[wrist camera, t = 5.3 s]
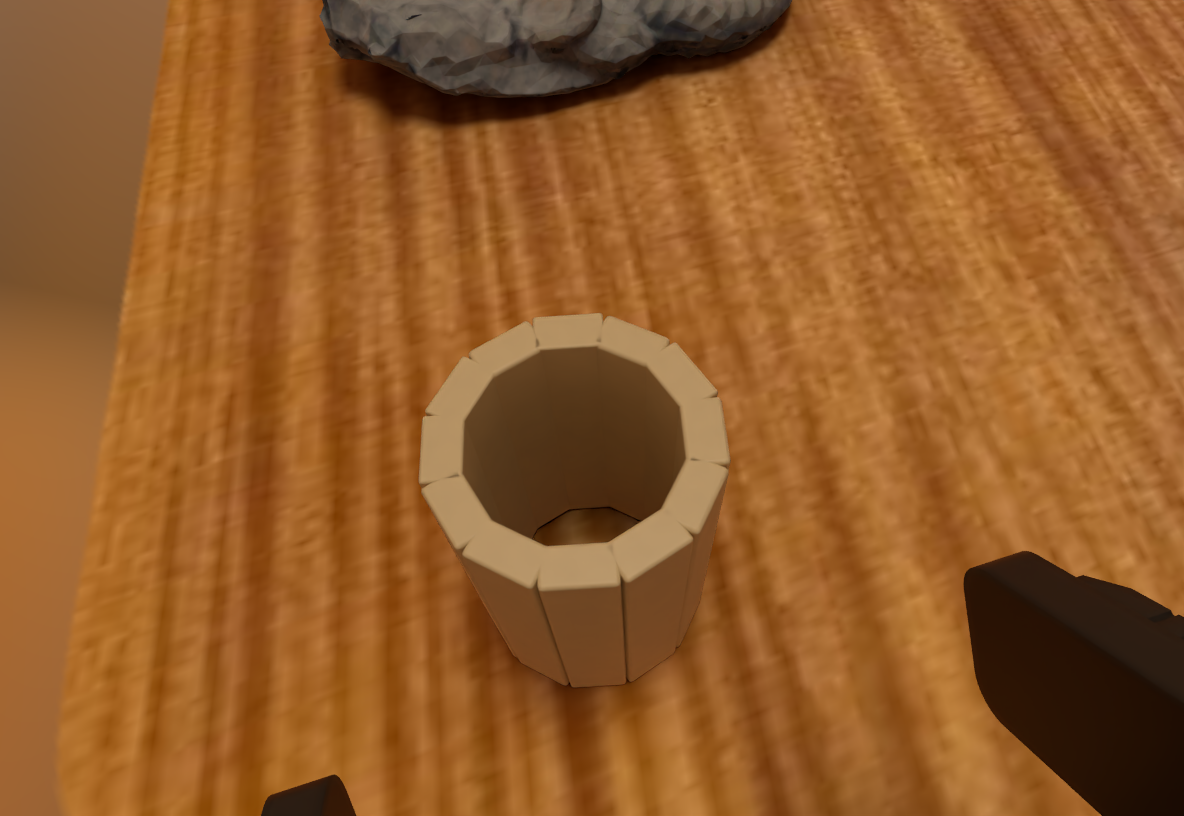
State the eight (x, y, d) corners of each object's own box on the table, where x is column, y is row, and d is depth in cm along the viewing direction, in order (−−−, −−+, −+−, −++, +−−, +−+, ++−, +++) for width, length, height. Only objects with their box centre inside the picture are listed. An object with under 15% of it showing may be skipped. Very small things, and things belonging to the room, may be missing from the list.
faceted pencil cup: (741, 607, 21) (793, 475, 14) (558, 732, 20) (517, 655, 13) (621, 448, 24) (615, 270, 17) (451, 550, 22) (368, 403, 15)
